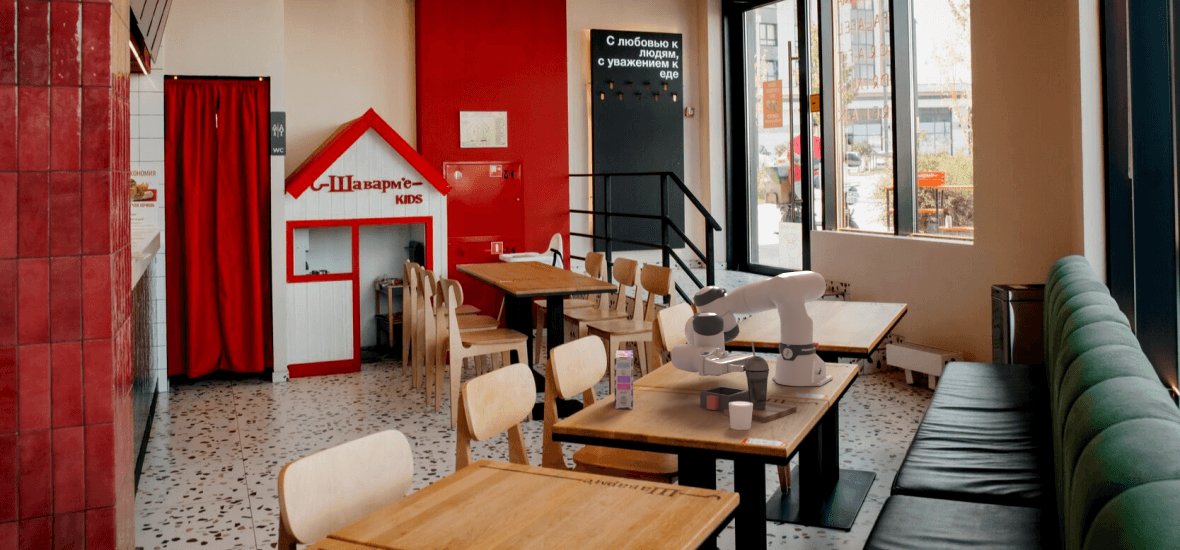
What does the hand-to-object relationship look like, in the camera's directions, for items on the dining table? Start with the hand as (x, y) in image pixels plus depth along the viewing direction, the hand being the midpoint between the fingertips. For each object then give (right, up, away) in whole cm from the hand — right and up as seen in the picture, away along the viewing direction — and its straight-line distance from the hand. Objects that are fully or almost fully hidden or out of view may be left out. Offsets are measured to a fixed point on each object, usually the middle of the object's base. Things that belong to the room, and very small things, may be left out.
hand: (752, 366), depth 274 cm
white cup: (-6, -16, -17) cm, 24 cm away
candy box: (-38, -14, +13) cm, 43 cm away
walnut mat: (+2, -14, 0) cm, 14 cm away
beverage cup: (+2, -13, 0) cm, 13 cm away
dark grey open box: (-7, -13, +9) cm, 17 cm away
